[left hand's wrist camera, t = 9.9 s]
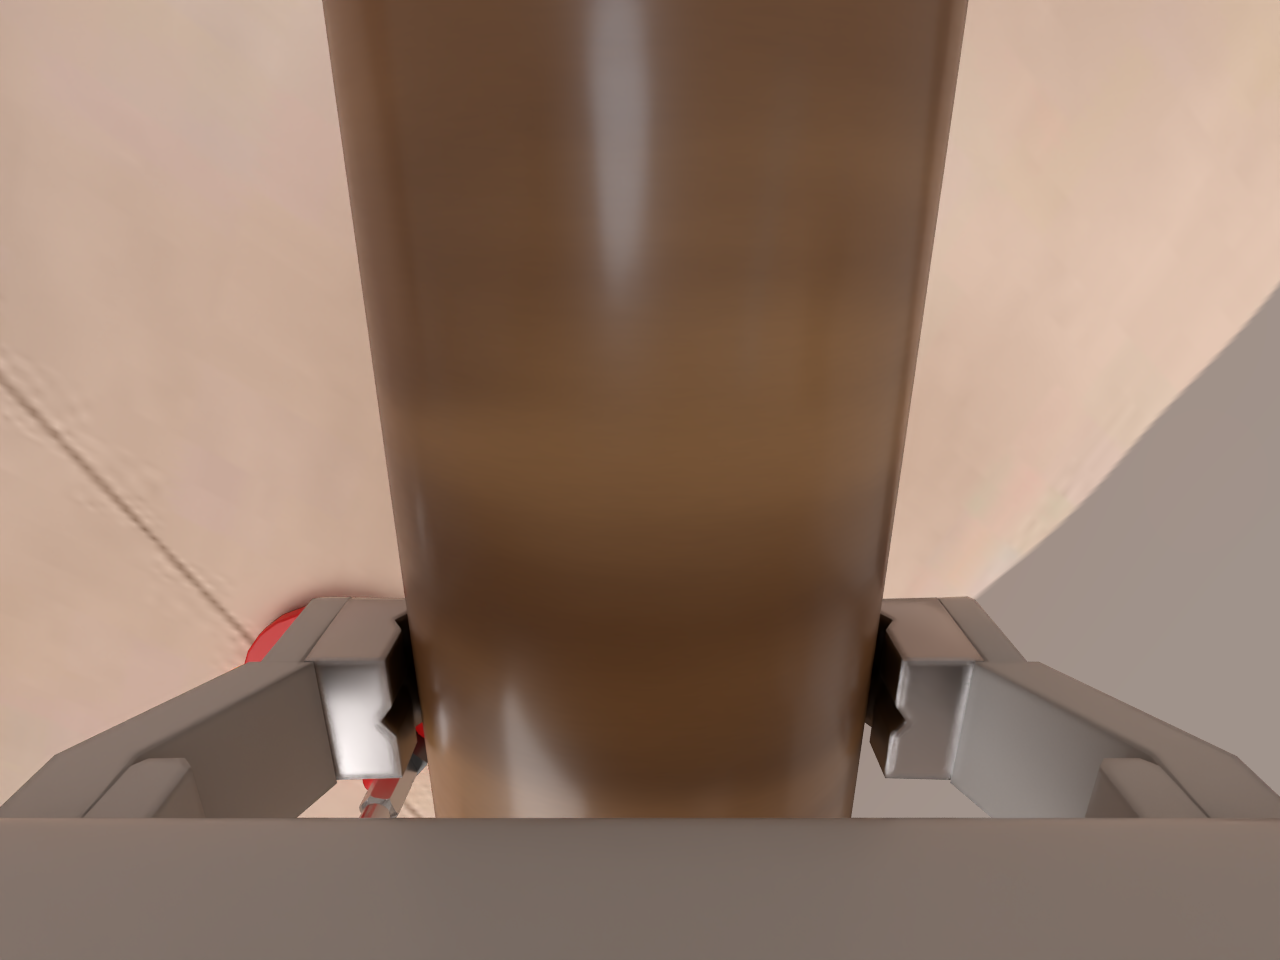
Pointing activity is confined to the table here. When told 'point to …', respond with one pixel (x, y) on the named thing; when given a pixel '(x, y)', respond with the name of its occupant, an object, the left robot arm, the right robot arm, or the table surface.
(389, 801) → the tow hook
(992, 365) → the table surface
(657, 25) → the rod
